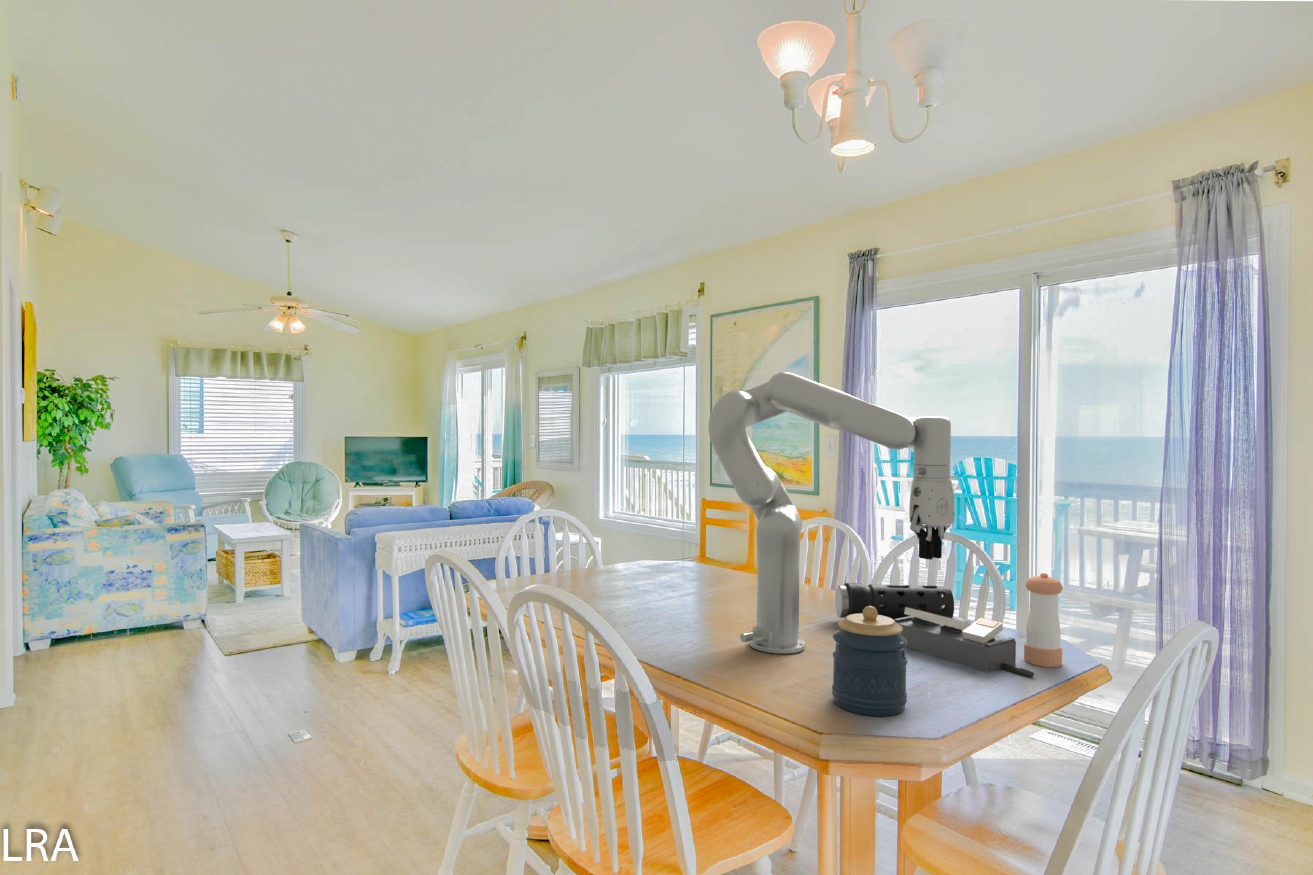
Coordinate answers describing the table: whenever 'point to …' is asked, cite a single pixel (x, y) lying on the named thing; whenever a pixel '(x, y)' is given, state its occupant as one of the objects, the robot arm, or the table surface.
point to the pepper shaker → (1043, 622)
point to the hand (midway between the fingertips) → (930, 557)
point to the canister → (869, 664)
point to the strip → (960, 646)
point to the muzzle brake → (893, 599)
